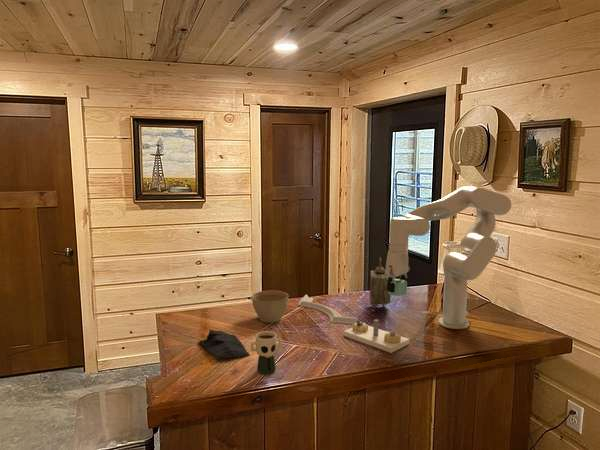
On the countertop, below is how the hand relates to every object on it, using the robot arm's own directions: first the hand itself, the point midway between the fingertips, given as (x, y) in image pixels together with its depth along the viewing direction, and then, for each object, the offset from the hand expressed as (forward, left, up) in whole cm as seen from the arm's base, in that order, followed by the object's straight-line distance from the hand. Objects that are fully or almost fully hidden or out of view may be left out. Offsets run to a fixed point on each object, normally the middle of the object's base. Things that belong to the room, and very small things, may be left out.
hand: (396, 289), depth 194 cm
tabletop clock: (-18, -21, -18) cm, 33 cm away
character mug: (+62, -10, -18) cm, 65 cm away
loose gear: (0, 0, -2) cm, 2 cm away
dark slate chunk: (+61, -36, -19) cm, 73 cm away
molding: (+1, -37, -19) cm, 41 cm away
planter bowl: (+28, -47, -18) cm, 58 cm away
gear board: (+13, 0, -18) cm, 22 cm away
